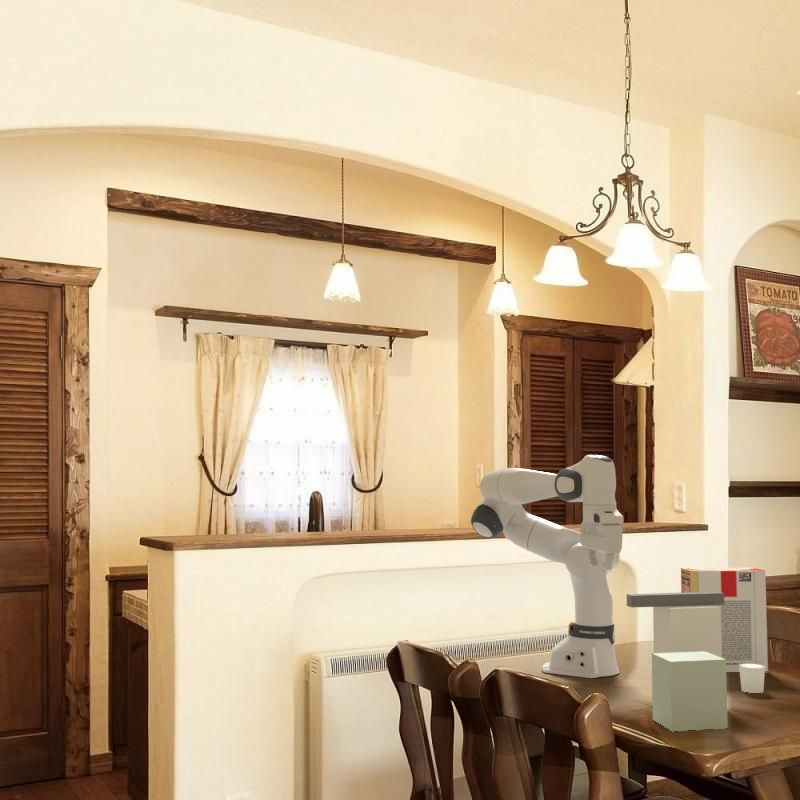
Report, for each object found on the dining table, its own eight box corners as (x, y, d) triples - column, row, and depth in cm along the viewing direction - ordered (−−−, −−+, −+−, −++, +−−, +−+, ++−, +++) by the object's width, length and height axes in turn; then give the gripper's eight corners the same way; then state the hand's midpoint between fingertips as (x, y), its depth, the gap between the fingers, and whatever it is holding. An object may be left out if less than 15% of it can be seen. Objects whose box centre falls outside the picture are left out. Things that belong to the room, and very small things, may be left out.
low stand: (672, 731, 222) (670, 661, 223) (652, 720, 231) (651, 653, 232) (727, 728, 224) (726, 659, 225) (706, 717, 234) (704, 651, 235)
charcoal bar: (631, 607, 246) (631, 595, 247) (626, 605, 249) (626, 594, 250) (724, 604, 251) (724, 593, 251) (718, 603, 254) (718, 591, 254)
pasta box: (756, 666, 292) (754, 567, 294) (767, 672, 284) (765, 570, 286) (682, 667, 291) (680, 568, 293) (692, 673, 283) (690, 571, 285)
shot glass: (763, 695, 256) (762, 669, 257) (736, 692, 260) (735, 666, 260) (768, 690, 262) (767, 664, 262) (742, 687, 266) (741, 661, 266)
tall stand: (672, 708, 243) (670, 608, 245) (654, 698, 253) (653, 602, 254) (722, 705, 246) (720, 607, 247) (703, 696, 255) (701, 601, 257)
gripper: (574, 513, 266) (574, 563, 265) (603, 517, 245) (604, 572, 245) (595, 513, 267) (596, 563, 266) (626, 517, 247) (627, 571, 246)
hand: (600, 567), depth 255 cm, fingers open, 8 cm apart
